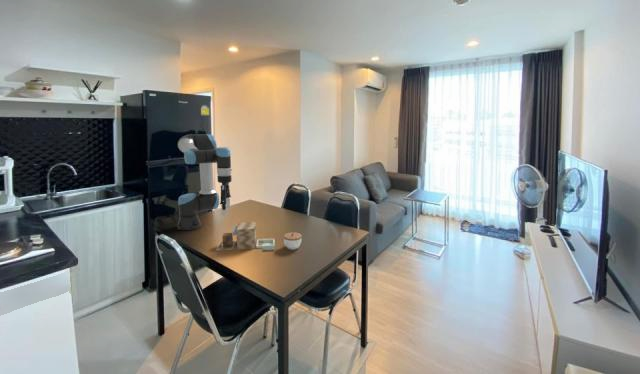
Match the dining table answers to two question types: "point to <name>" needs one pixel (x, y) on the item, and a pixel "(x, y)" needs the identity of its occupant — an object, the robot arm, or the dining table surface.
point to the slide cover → (235, 230)
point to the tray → (266, 244)
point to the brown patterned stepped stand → (243, 237)
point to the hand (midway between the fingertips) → (226, 211)
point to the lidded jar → (292, 240)
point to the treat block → (227, 240)
